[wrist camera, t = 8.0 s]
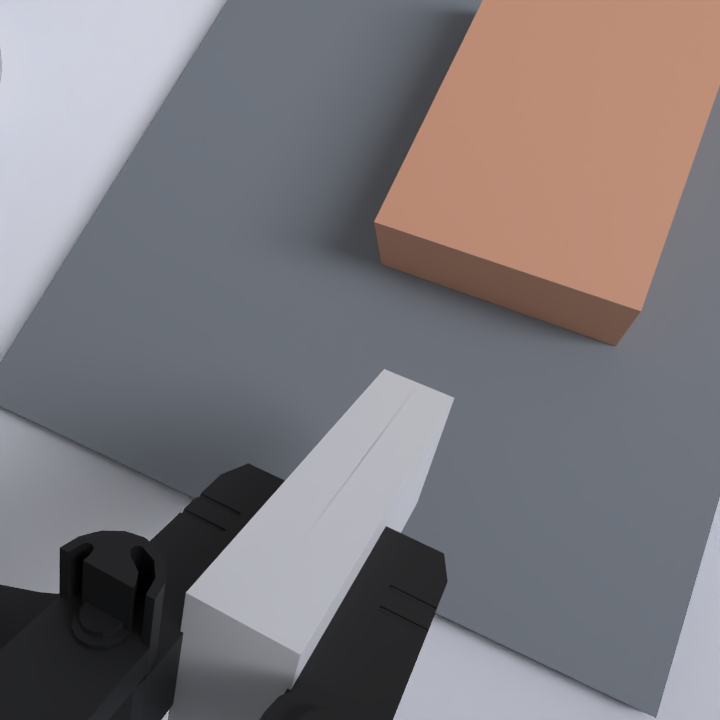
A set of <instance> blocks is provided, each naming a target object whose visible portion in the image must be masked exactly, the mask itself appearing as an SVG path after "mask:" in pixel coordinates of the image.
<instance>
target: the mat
mask: <svg viewBox="0 0 720 720" xmlns="http://www.w3.org/2000/svg"><path fill="white" fill-rule="evenodd" d="M482 1H483V0H228V1H227V2H226V4H225V5H224V7H223V9H222V10H221V12H220V13H219V15H218V17H217V18H216V20H215V21H214V23H213V25H212V26H211V28H210V29H209V31H208V33H207V34H206V36H205V37H204V39H203V41H202V42H201V44H200V45H199V47H198V49H197V50H196V52H195V53H194V55H193V57H192V58H191V60H190V61H189V63H188V65H187V66H186V68H185V69H184V71H183V73H182V74H181V76H180V77H179V79H178V81H177V82H176V84H175V85H174V87H173V89H172V90H171V92H170V93H169V95H168V97H167V98H166V100H165V101H164V103H163V105H162V106H161V108H160V109H159V111H158V113H157V114H156V116H155V117H154V119H153V120H152V122H151V124H150V125H149V127H148V128H147V130H146V132H145V133H144V135H143V136H142V138H141V140H140V141H139V143H138V144H137V146H136V148H135V149H134V151H133V152H132V154H131V156H130V157H129V159H128V160H127V162H126V164H125V165H124V167H123V168H122V170H121V172H120V173H119V175H118V176H117V178H116V180H115V181H114V183H113V184H112V186H111V188H110V189H109V191H108V192H107V194H106V196H105V197H104V199H103V200H102V202H101V204H100V205H99V207H98V208H97V210H96V212H95V213H94V215H93V216H92V218H91V220H90V221H89V223H88V224H87V226H86V228H85V229H84V231H83V232H82V234H81V236H80V237H79V239H78V240H77V242H76V244H75V245H74V247H73V248H72V250H71V251H70V253H69V255H68V256H67V258H66V259H65V261H64V263H63V264H62V266H61V267H60V269H59V271H58V272H57V274H56V275H55V277H54V279H53V280H52V282H51V283H50V285H49V287H48V288H47V290H46V291H45V293H44V295H43V296H42V298H41V299H40V301H39V303H38V304H37V306H36V307H35V309H34V311H33V312H32V314H31V315H30V317H29V319H28V320H27V322H26V323H25V325H24V327H23V328H22V330H21V331H20V333H19V335H18V336H17V338H16V339H15V341H14V343H13V344H12V346H11V347H10V349H9V351H8V352H7V354H6V355H5V357H4V359H3V360H2V362H1V363H0V406H1V407H3V408H5V409H8V410H10V411H12V412H14V413H16V414H18V415H20V416H22V417H24V418H26V419H29V420H31V421H33V422H35V423H37V424H39V425H41V426H43V427H45V428H47V429H50V430H52V431H54V432H56V433H58V434H60V435H62V436H64V437H66V438H69V439H71V440H73V441H75V442H77V443H79V444H81V445H83V446H85V447H87V448H90V449H92V450H94V451H96V452H98V453H100V454H102V455H104V456H106V457H108V458H111V459H113V460H115V461H117V462H119V463H121V464H123V465H125V466H127V467H129V468H132V469H134V470H136V471H138V472H140V473H142V474H144V475H146V476H148V477H151V478H153V479H155V480H157V481H159V482H161V483H163V484H165V485H167V486H169V487H172V488H174V489H176V490H178V491H180V492H182V493H184V494H186V495H188V496H190V497H193V498H196V497H198V498H199V496H200V495H201V493H202V492H203V491H204V490H205V489H206V488H207V487H208V486H209V485H210V484H211V483H212V482H213V481H214V480H215V479H216V478H217V477H219V476H220V475H221V474H223V473H225V472H228V471H230V470H233V469H235V468H238V467H240V466H243V465H245V464H248V463H249V464H251V465H253V466H255V467H258V468H260V469H262V470H264V471H266V472H268V473H270V474H272V475H274V476H277V477H279V478H281V479H283V480H286V479H287V478H288V477H289V476H290V475H291V474H292V472H293V471H294V470H295V469H296V468H297V467H298V466H299V465H300V463H301V462H302V461H303V460H304V459H305V458H306V457H307V456H308V454H309V453H310V452H311V451H312V450H313V449H314V448H315V446H316V445H317V444H318V443H319V442H320V441H321V440H322V439H323V437H324V436H325V435H326V434H327V433H328V432H329V431H330V430H331V428H332V427H333V426H334V425H335V424H336V423H337V422H338V421H339V419H340V418H341V417H342V416H343V415H344V414H345V413H346V412H347V410H348V409H349V408H350V407H351V406H352V405H353V404H354V402H355V401H356V400H357V399H358V398H359V397H360V396H361V395H362V393H363V392H364V391H365V390H366V389H367V388H368V387H369V386H370V384H371V383H372V382H373V381H374V380H375V379H376V378H377V377H378V375H379V374H380V373H381V372H382V371H383V370H384V369H385V370H388V371H390V372H393V373H395V374H398V375H400V376H403V377H405V378H407V379H410V380H412V381H415V382H417V383H420V384H422V385H424V386H427V387H429V388H432V389H434V390H437V391H439V392H442V393H444V394H446V395H449V396H451V397H454V401H453V403H452V406H451V409H450V412H449V415H448V417H447V420H446V423H445V426H444V429H443V431H442V434H441V437H440V440H439V443H438V446H437V448H436V451H435V454H434V457H433V460H432V462H431V465H430V468H429V471H428V474H427V477H426V479H425V482H424V485H423V488H422V491H421V493H420V496H419V499H418V502H417V504H416V506H415V508H414V510H413V511H412V513H411V515H410V517H409V519H408V521H407V523H406V524H405V526H404V528H403V530H402V532H401V533H402V534H404V535H406V536H408V537H410V538H412V539H415V540H417V541H419V542H421V543H423V544H425V545H427V546H429V547H432V548H434V549H436V550H438V551H440V552H442V553H444V556H445V564H446V572H447V580H448V582H447V585H446V587H445V590H444V592H443V595H442V597H441V600H440V602H439V605H438V607H437V610H436V612H435V613H437V614H439V615H441V616H443V617H445V618H447V619H449V620H451V621H453V622H456V623H458V624H460V625H462V626H464V627H466V628H468V629H470V630H472V631H474V632H477V633H479V634H481V635H483V636H485V637H487V638H489V639H491V640H493V641H495V642H498V643H500V644H502V645H504V646H506V647H508V648H510V649H512V650H514V651H517V652H519V653H521V654H523V655H525V656H527V657H529V658H531V659H533V660H535V661H538V662H540V663H542V664H544V665H546V666H548V667H550V668H552V669H554V670H556V671H559V672H561V673H563V674H565V675H567V676H569V677H571V678H573V679H575V680H578V681H580V682H582V683H584V684H586V685H588V686H590V687H592V688H594V689H596V690H599V691H601V692H603V693H605V694H607V695H609V696H611V697H613V698H615V699H617V700H620V701H622V702H624V703H626V704H628V705H630V706H632V707H634V708H636V709H638V710H641V711H643V712H645V713H647V714H649V715H651V716H653V717H655V718H656V716H657V712H658V709H659V705H660V702H661V699H662V695H663V692H664V688H665V685H666V681H667V678H668V674H669V671H670V667H671V664H672V660H673V657H674V653H675V650H676V646H677V643H678V640H679V636H680V633H681V629H682V626H683V622H684V619H685V615H686V612H687V608H688V605H689V601H690V598H691V594H692V591H693V587H694V584H695V580H696V577H697V574H698V570H699V567H700V563H701V560H702V556H703V553H704V549H705V546H706V542H707V539H708V535H709V532H710V528H711V525H712V521H713V518H714V515H715V511H716V508H717V504H718V501H719V497H720V86H719V89H718V92H717V95H716V98H715V100H714V103H713V106H712V109H711V112H710V115H709V118H708V120H707V123H706V126H705V129H704V132H703V135H702V138H701V141H700V143H699V146H698V149H697V152H696V155H695V158H694V161H693V164H692V166H691V169H690V172H689V175H688V178H687V181H686V184H685V187H684V189H683V192H682V195H681V198H680V201H679V204H678V207H677V209H676V212H675V215H674V218H673V221H672V224H671V227H670V230H669V232H668V235H667V238H666V241H665V244H664V247H663V250H662V253H661V255H660V258H659V261H658V264H657V267H656V270H655V273H654V276H653V278H652V281H651V284H650V287H649V290H648V293H647V296H646V298H645V301H644V304H643V307H642V310H641V312H640V313H639V315H638V316H637V318H636V319H635V320H634V322H633V323H632V325H631V326H630V327H629V329H628V330H627V331H626V333H625V334H624V336H623V337H622V338H621V340H620V341H619V343H618V344H617V345H616V346H614V345H611V344H608V343H605V342H602V341H599V340H596V339H594V338H591V337H588V336H585V335H582V334H579V333H576V332H574V331H571V330H568V329H565V328H562V327H559V326H556V325H554V324H551V323H548V322H545V321H542V320H539V319H536V318H534V317H531V316H528V315H525V314H522V313H519V312H516V311H514V310H511V309H508V308H505V307H502V306H499V305H496V304H494V303H491V302H488V301H485V300H482V299H479V298H476V297H474V296H471V295H468V294H465V293H462V292H459V291H456V290H454V289H451V288H448V287H445V286H442V285H439V284H437V283H434V282H431V281H428V280H425V279H422V278H419V277H417V276H414V275H411V274H408V273H405V272H402V271H399V270H397V269H394V268H391V267H388V266H385V265H382V264H381V258H380V253H379V247H378V241H377V236H376V230H375V224H374V221H375V219H376V217H377V215H378V213H379V211H380V209H381V207H382V205H383V203H384V201H385V199H386V197H387V194H388V192H389V190H390V188H391V186H392V184H393V182H394V180H395V178H396V176H397V174H398V172H399V170H400V168H401V166H402V164H403V162H404V160H405V158H406V156H407V154H408V152H409V150H410V148H411V146H412V143H413V141H414V139H415V137H416V135H417V133H418V131H419V129H420V127H421V125H422V123H423V121H424V119H425V117H426V115H427V113H428V111H429V109H430V107H431V105H432V103H433V101H434V99H435V97H436V95H437V92H438V90H439V88H440V86H441V84H442V82H443V80H444V78H445V76H446V74H447V72H448V70H449V68H450V66H451V64H452V62H453V60H454V58H455V56H456V54H457V52H458V50H459V48H460V46H461V44H462V41H463V39H464V37H465V35H466V33H467V31H468V29H469V27H470V25H471V23H472V21H473V19H474V17H475V15H476V13H477V11H478V9H479V7H480V5H481V3H482Z"/></svg>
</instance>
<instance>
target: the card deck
mask: <svg viewBox="0 0 720 720" xmlns="http://www.w3.org/2000/svg"><path fill="white" fill-rule="evenodd" d="M719 86H720V0H483V1H482V3H481V5H480V7H479V9H478V11H477V13H476V15H475V17H474V19H473V21H472V23H471V25H470V27H469V29H468V31H467V33H466V35H465V37H464V39H463V41H462V44H461V46H460V48H459V50H458V52H457V54H456V56H455V58H454V60H453V62H452V64H451V66H450V68H449V70H448V72H447V74H446V76H445V78H444V80H443V82H442V84H441V86H440V88H439V90H438V92H437V95H436V97H435V99H434V101H433V103H432V105H431V107H430V109H429V111H428V113H427V115H426V117H425V119H424V121H423V123H422V125H421V127H420V129H419V131H418V133H417V135H416V137H415V139H414V141H413V143H412V146H411V148H410V150H409V152H408V154H407V156H406V158H405V160H404V162H403V164H402V166H401V168H400V170H399V172H398V174H397V176H396V178H395V180H394V182H393V184H392V186H391V188H390V190H389V192H388V194H387V197H386V199H385V201H384V203H383V205H382V207H381V209H380V211H379V213H378V215H377V217H376V219H375V221H374V224H375V230H376V236H377V241H378V247H379V253H380V258H381V264H382V265H385V266H388V267H391V268H394V269H397V270H399V271H402V272H405V273H408V274H411V275H414V276H417V277H419V278H422V279H425V280H428V281H431V282H434V283H437V284H439V285H442V286H445V287H448V288H451V289H454V290H456V291H459V292H462V293H465V294H468V295H471V296H474V297H476V298H479V299H482V300H485V301H488V302H491V303H494V304H496V305H499V306H502V307H505V308H508V309H511V310H514V311H516V312H519V313H522V314H525V315H528V316H531V317H534V318H536V319H539V320H542V321H545V322H548V323H551V324H554V325H556V326H559V327H562V328H565V329H568V330H571V331H574V332H576V333H579V334H582V335H585V336H588V337H591V338H594V339H596V340H599V341H602V342H605V343H608V344H611V345H614V346H616V345H617V344H618V343H619V341H620V340H621V338H622V337H623V336H624V334H625V333H626V331H627V330H628V329H629V327H630V326H631V325H632V323H633V322H634V320H635V319H636V318H637V316H638V315H639V313H640V312H641V310H642V307H643V304H644V301H645V298H646V296H647V293H648V290H649V287H650V284H651V281H652V278H653V276H654V273H655V270H656V267H657V264H658V261H659V258H660V255H661V253H662V250H663V247H664V244H665V241H666V238H667V235H668V232H669V230H670V227H671V224H672V221H673V218H674V215H675V212H676V209H677V207H678V204H679V201H680V198H681V195H682V192H683V189H684V187H685V184H686V181H687V178H688V175H689V172H690V169H691V166H692V164H693V161H694V158H695V155H696V152H697V149H698V146H699V143H700V141H701V138H702V135H703V132H704V129H705V126H706V123H707V120H708V118H709V115H710V112H711V109H712V106H713V103H714V100H715V98H716V95H717V92H718V89H719Z"/></svg>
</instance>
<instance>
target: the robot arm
mask: <svg viewBox="0 0 720 720" xmlns="http://www.w3.org/2000/svg"><path fill="white" fill-rule="evenodd" d="M453 401H454V397H451V396H449V395H446V394H444V393H442V392H439V391H437V390H434V389H432V388H429V387H427V386H424V385H422V384H420V383H417V382H415V381H412V380H410V379H407V378H405V377H403V376H400V375H398V374H395V373H393V372H390V371H388V370H385V369H384V370H383V371H382V372H381V373H380V374H379V375H378V377H377V378H376V379H375V380H374V381H373V382H372V383H371V384H370V386H369V387H368V388H367V389H366V390H365V391H364V392H363V393H362V395H361V396H360V397H359V398H358V399H357V400H356V401H355V402H354V404H353V405H352V406H351V407H350V408H349V409H348V410H347V412H346V413H345V414H344V415H343V416H342V417H341V418H340V419H339V421H338V422H337V423H336V424H335V425H334V426H333V427H332V428H331V430H330V431H329V432H328V433H327V434H326V435H325V436H324V437H323V439H322V440H321V441H320V442H319V443H318V444H317V445H316V446H315V448H314V449H313V450H312V451H311V452H310V453H309V454H308V456H307V457H306V458H305V459H304V460H303V461H302V462H301V463H300V465H299V466H298V467H297V468H296V469H295V470H294V471H293V472H292V474H291V475H290V476H289V477H288V478H287V479H286V480H283V479H281V478H279V477H277V476H274V475H272V474H270V473H268V472H266V471H264V470H262V469H260V468H258V467H255V466H253V465H251V464H249V463H248V464H245V465H243V466H240V467H238V468H235V469H233V470H230V471H228V472H225V473H223V474H221V475H220V476H219V477H217V478H216V479H215V480H214V481H213V482H212V483H211V484H210V485H209V486H208V487H207V488H206V489H205V490H204V491H203V492H202V493H201V495H200V496H199V498H198V497H196V498H195V499H194V500H193V501H192V502H191V503H190V504H189V505H188V506H187V507H186V508H185V509H184V511H183V513H179V514H178V515H177V516H176V517H175V518H174V519H173V520H172V521H171V522H170V523H169V524H168V525H167V526H166V527H165V528H164V529H162V530H161V531H160V532H159V533H158V534H157V535H156V536H155V537H154V538H153V539H152V540H151V541H150V542H149V541H148V540H147V539H146V538H144V537H141V536H138V535H135V534H132V533H129V532H126V531H99V532H95V533H91V534H87V535H83V536H79V537H77V538H76V539H74V540H72V541H71V542H69V543H67V544H65V545H64V546H62V547H60V594H52V593H41V592H35V591H30V590H25V589H19V588H14V587H9V586H4V585H0V720H161V719H162V718H163V717H164V715H165V714H166V713H167V711H168V710H169V716H168V720H393V718H394V715H395V713H396V710H397V708H398V705H399V703H400V700H401V698H402V695H403V693H404V690H405V688H406V685H407V683H408V680H409V678H410V675H411V673H412V670H413V668H414V665H415V663H416V660H417V658H418V655H419V652H420V650H421V647H422V645H423V642H424V640H425V637H426V635H427V632H428V630H429V627H430V625H431V622H432V620H433V617H434V615H435V612H436V610H437V607H438V605H439V602H440V600H441V597H442V595H443V592H444V590H445V587H446V585H447V582H448V580H447V572H446V564H445V556H444V553H442V552H440V551H438V550H436V549H434V548H432V547H429V546H427V545H425V544H423V543H421V542H419V541H417V540H415V539H412V538H410V537H408V536H406V535H404V534H402V533H401V532H402V530H403V528H404V526H405V524H406V523H407V521H408V519H409V517H410V515H411V513H412V511H413V510H414V508H415V506H416V504H417V502H418V499H419V496H420V493H421V491H422V488H423V485H424V482H425V479H426V477H427V474H428V471H429V468H430V465H431V462H432V460H433V457H434V454H435V451H436V448H437V446H438V443H439V440H440V437H441V434H442V431H443V429H444V426H445V423H446V420H447V417H448V415H449V412H450V409H451V406H452V403H453Z"/></svg>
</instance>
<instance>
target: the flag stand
mask: <svg viewBox="0 0 720 720" xmlns="http://www.w3.org/2000/svg"><path fill="white" fill-rule="evenodd" d="M1 74H2V60H1V49H0V81H1Z"/></svg>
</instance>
